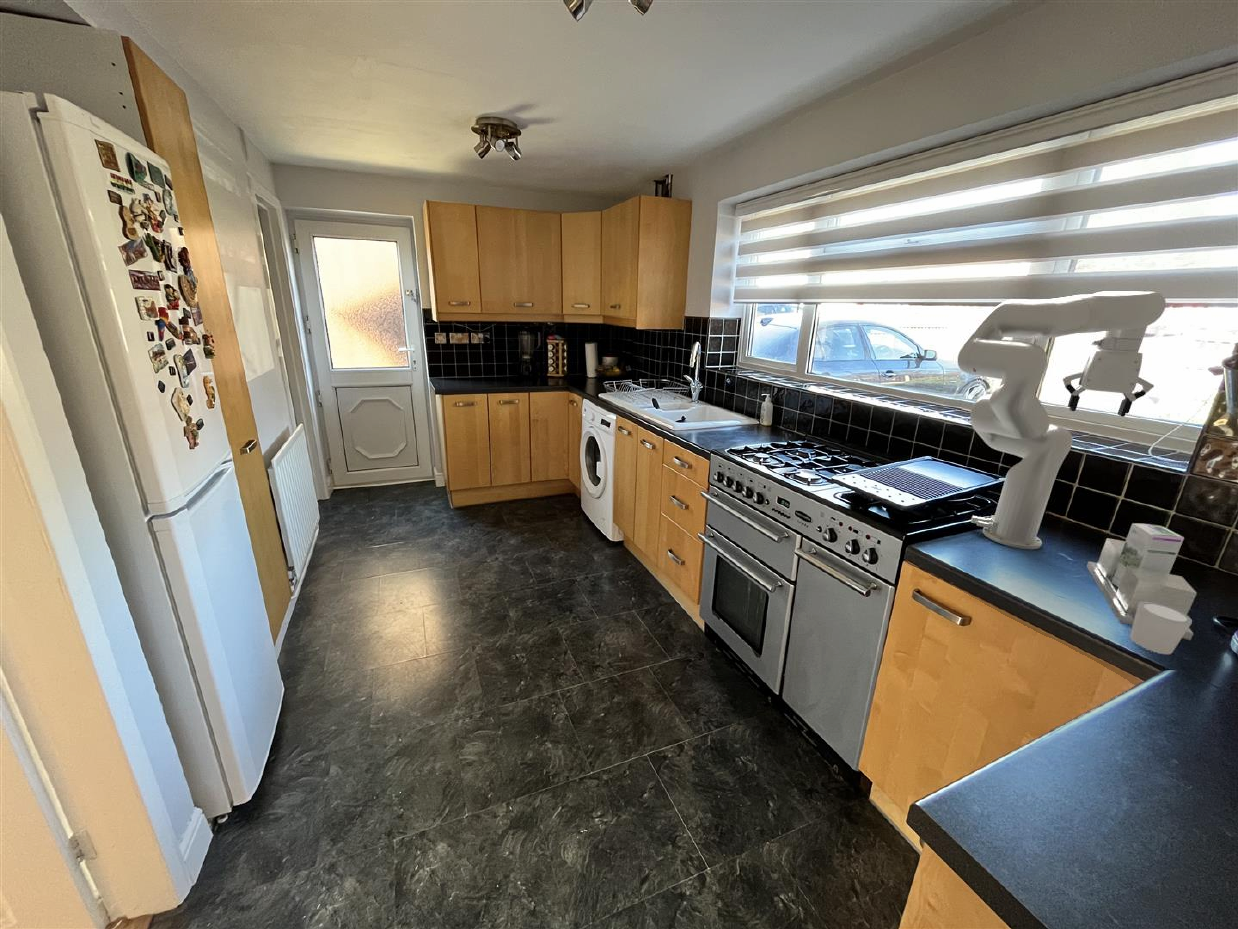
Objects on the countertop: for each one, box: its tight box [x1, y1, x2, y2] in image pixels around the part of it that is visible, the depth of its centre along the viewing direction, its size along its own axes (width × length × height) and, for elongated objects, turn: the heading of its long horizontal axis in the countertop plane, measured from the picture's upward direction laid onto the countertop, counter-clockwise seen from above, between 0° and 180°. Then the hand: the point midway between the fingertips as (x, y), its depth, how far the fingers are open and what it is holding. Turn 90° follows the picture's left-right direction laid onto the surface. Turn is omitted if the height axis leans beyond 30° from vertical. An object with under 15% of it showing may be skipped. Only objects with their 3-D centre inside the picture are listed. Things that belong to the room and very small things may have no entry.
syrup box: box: [1110, 522, 1185, 588], centre depth 104 cm, size 6×6×14 cm
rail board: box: [1086, 537, 1197, 641], centre depth 106 cm, size 10×26×9 cm, turn 149°
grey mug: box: [1129, 602, 1193, 655], centre depth 91 cm, size 7×7×7 cm
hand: (1096, 412), depth 130 cm, fingers open, 9 cm apart
